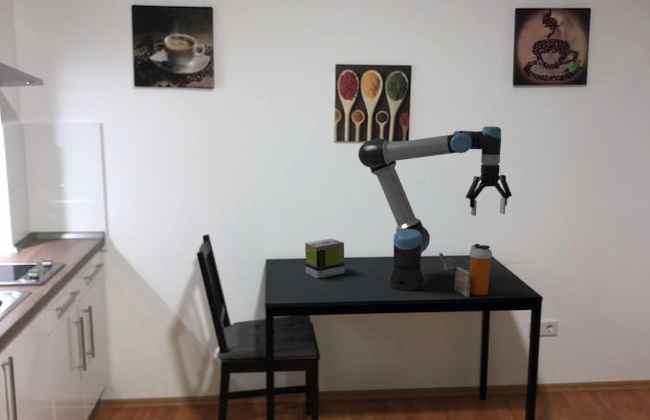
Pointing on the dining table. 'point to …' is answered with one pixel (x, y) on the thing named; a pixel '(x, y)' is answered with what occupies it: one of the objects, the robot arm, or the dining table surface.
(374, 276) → the dining table surface
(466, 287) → the bookend
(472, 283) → the shaker bottle
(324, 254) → the tea box
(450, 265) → the lighter
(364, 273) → the dining table surface
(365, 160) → the robot arm
